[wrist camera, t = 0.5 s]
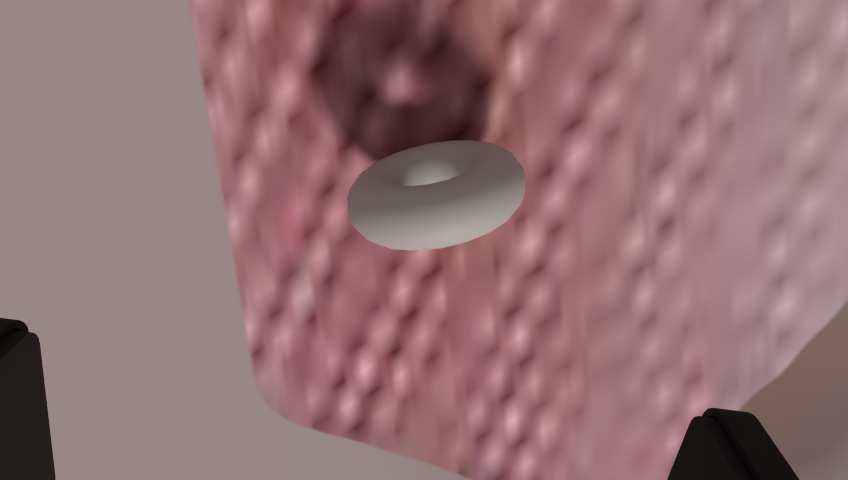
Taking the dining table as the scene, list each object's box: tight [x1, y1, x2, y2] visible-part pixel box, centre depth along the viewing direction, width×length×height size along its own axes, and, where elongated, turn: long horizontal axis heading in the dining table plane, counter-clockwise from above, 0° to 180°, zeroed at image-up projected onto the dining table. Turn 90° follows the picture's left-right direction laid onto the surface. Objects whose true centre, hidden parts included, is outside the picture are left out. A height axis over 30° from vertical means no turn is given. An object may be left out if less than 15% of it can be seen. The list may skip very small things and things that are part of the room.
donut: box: [347, 140, 525, 251], centre depth 36 cm, size 10×3×10 cm, turn 101°
